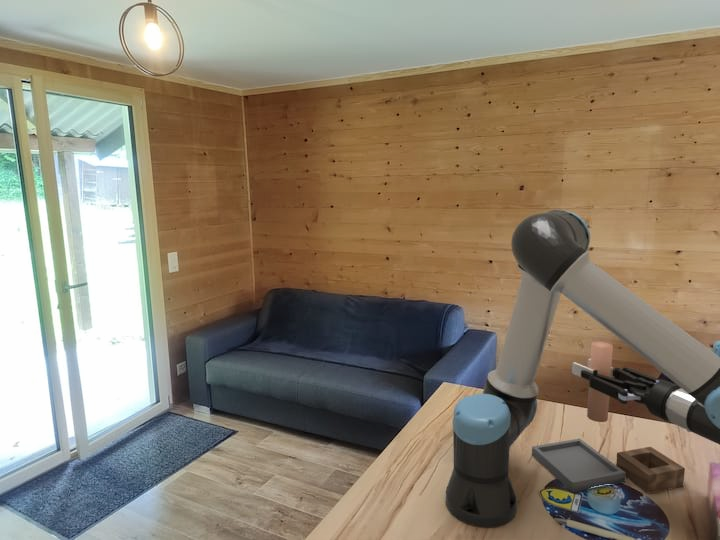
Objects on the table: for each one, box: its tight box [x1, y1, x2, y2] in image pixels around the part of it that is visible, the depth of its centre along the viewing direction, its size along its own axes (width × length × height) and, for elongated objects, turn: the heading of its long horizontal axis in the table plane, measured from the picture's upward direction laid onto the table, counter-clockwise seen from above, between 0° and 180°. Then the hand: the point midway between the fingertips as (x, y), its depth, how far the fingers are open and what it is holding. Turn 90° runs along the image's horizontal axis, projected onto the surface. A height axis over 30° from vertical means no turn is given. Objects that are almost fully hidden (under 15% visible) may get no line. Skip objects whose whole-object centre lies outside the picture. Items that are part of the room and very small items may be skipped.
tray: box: [531, 438, 626, 494], centre depth 118 cm, size 14×16×2 cm
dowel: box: [586, 341, 614, 423], centre depth 112 cm, size 4×4×18 cm
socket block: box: [615, 446, 686, 494], centre depth 113 cm, size 10×10×4 cm
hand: (581, 366), depth 117 cm, fingers closed on dowel, 4 cm apart
